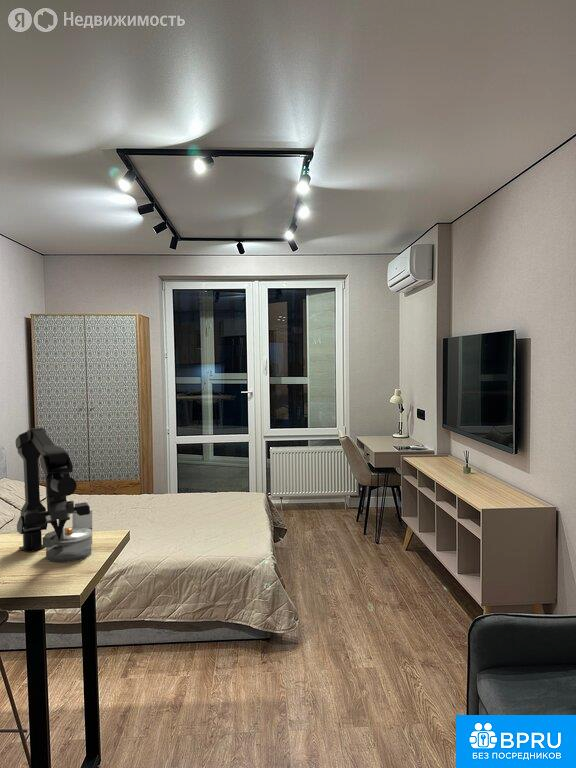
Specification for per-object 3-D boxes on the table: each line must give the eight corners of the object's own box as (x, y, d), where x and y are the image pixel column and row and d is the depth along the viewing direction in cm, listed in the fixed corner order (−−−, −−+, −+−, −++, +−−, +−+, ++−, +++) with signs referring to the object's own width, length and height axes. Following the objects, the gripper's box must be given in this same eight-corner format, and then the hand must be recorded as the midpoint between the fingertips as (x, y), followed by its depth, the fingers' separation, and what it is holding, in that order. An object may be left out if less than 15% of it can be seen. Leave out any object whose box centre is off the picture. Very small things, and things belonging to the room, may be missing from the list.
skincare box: (75, 547, 199) (74, 512, 198) (72, 543, 202) (71, 509, 202) (93, 543, 202) (92, 509, 201) (90, 540, 206) (89, 507, 205)
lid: (58, 529, 198) (58, 518, 198) (99, 530, 196) (99, 519, 196) (24, 549, 177) (23, 537, 176) (69, 551, 175) (69, 538, 175)
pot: (59, 548, 198) (59, 530, 197) (98, 548, 196) (98, 531, 196) (28, 568, 178) (28, 549, 178) (71, 569, 177) (71, 550, 177)
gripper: (23, 500, 166) (27, 553, 167) (90, 491, 174) (94, 541, 175) (22, 492, 176) (26, 542, 177) (86, 484, 184) (89, 531, 185)
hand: (59, 539), depth 178 cm, fingers closed
